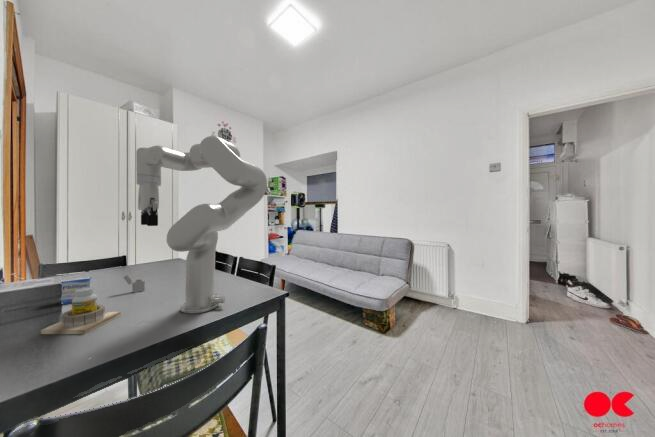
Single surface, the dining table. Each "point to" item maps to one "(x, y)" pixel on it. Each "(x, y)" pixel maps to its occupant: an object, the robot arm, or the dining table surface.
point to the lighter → (136, 284)
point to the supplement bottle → (84, 301)
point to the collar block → (81, 322)
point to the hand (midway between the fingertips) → (149, 225)
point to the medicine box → (73, 287)
